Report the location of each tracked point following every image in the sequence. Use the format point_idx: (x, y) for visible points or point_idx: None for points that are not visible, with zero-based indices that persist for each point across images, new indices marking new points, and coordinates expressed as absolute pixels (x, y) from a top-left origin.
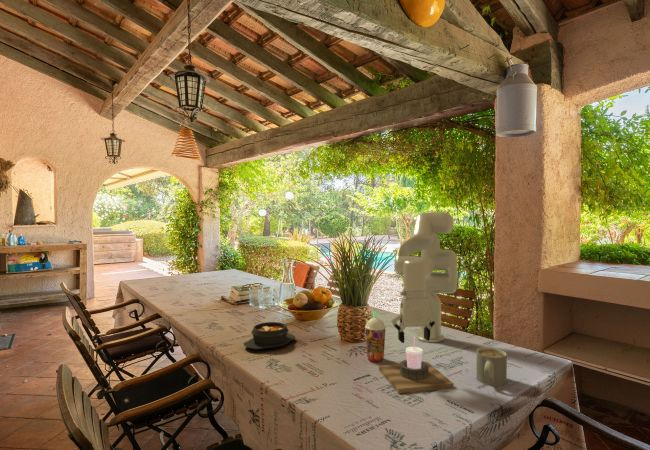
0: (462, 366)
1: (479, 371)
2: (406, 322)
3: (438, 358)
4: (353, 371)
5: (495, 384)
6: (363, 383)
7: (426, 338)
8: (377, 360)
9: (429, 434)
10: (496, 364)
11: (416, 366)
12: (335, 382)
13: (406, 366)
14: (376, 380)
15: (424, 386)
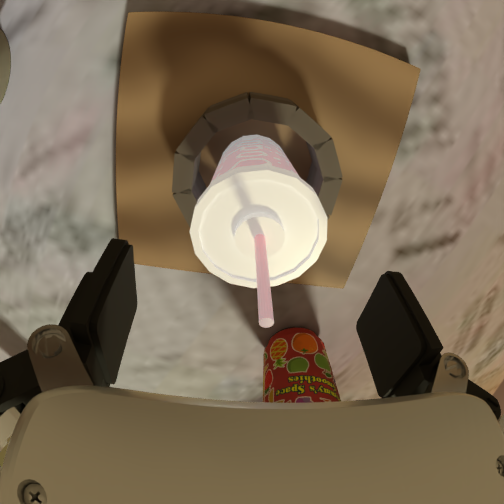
0: (10, 203)
1: None
2: (497, 444)
3: (66, 286)
4: (416, 289)
5: None
6: (455, 201)
7: (130, 270)
8: (302, 331)
9: None
10: None
11: (266, 148)
12: (497, 241)
13: None
14: (409, 203)
15: (293, 26)
